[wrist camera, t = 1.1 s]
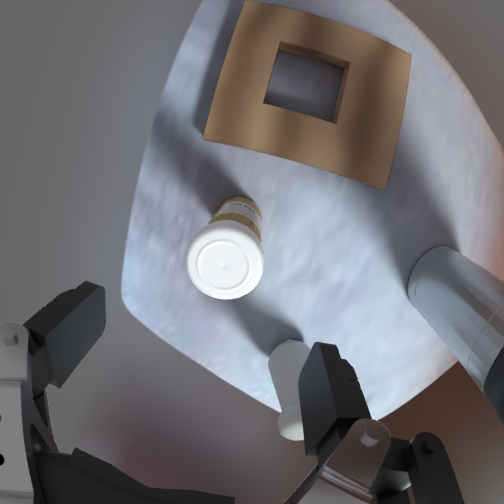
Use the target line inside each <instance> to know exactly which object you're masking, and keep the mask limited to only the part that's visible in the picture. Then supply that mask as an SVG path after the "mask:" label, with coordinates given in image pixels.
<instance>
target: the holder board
mask: <svg viewBox="0 0 504 504" xmlns="http://www.w3.org/2000/svg"><path fill="white" fill-rule="evenodd" d="M278 50H280V51H284V52H288V53H292V54H296V55H300V56H303V57H307V58H310V59H314V60H317V61H320V62H323V63H326V64H329V65H332V66H335V67H338V68H341V69H344V70H343V74H342V79H341V83H340V88H339V92H338V96H337V101H336V105H335V109H334V113H333V117H332V122H328V121H325V120H322V119H319V118H316V117H312V116H309V115H306V114H302V113H299V112H295V111H292V110H288V109H284V108H280V107H276V106H272V105H268V104H264V101H265V97H266V93H267V90H268V86H269V82H270V79H271V75H272V71H273V68H274V64H275V61H276V57H277V54H278ZM411 59H412V55H411V54H410V53H408V52H406V51H404V50H402V49H400V48H398V47H396V46H394V45H392V44H390V43H388V42H386V41H384V40H381V39H379V38H377V37H375V36H372V35H370V34H368V33H365V32H363V31H360V30H358V29H355V28H352V27H350V26H347V25H344V24H342V23H339V22H336V21H333V20H330V19H327V18H323V17H320V16H317V15H313V14H310V13H306V12H302V11H298V10H294V9H290V8H285V7H281V6H276V5H271V4H265V3H259V2H253V1H246V0H245V2H244V5H243V8H242V10H241V13H240V16H239V19H238V21H237V24H236V27H235V30H234V33H233V36H232V39H231V42H230V45H229V48H228V51H227V54H226V57H225V60H224V63H223V67H222V70H221V73H220V76H219V80H218V83H217V87H216V90H215V94H214V97H213V101H212V105H211V108H210V112H209V116H208V120H207V124H206V127H205V131H204V135H203V139H204V140H207V141H211V142H216V143H221V144H226V145H231V146H236V147H240V148H244V149H249V150H253V151H257V152H261V153H265V154H269V155H273V156H277V157H281V158H285V159H288V160H292V161H296V162H299V163H303V164H306V165H309V166H313V167H316V168H319V169H323V170H326V171H329V172H332V173H335V174H338V175H341V176H344V177H347V178H350V179H353V180H356V181H359V182H362V183H365V184H367V185H370V186H373V187H376V188H379V189H383V190H385V188H386V185H387V181H388V177H389V174H390V170H391V166H392V162H393V158H394V154H395V150H396V146H397V141H398V137H399V132H400V127H401V122H402V117H403V112H404V107H405V101H406V95H407V89H408V82H409V75H410V67H411Z"/></svg>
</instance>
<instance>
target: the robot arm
mask: <svg viewBox="0 0 504 504" xmlns="http://www.w3.org/2000/svg"><path fill="white" fill-rule="evenodd" d="M408 297H409V300H410V302H411V304H412V305H413V306H414V307H415V309H416V310H417V311H418V312H419V313H420V314H421V315H422V316H423V318H424V319H425V320H426V321H427V322H428V324H429V325H430V326H431V327H432V328H433V329H434V331H435V332H436V333H437V334H438V335H439V337H440V338H441V339H442V340H443V341H444V343H445V344H446V345H447V346H448V347H449V349H450V350H451V351H452V352H453V354H454V355H455V356H456V357H457V359H458V360H459V361H460V363H461V364H462V365H463V366H464V368H465V369H466V370H467V372H468V373H469V374H470V375H471V377H472V378H473V379H474V381H475V382H476V384H477V385H478V386H479V388H480V389H481V390H482V392H483V393H484V394H485V396H486V397H487V399H488V400H489V402H490V403H491V405H492V406H493V408H494V410H495V412H496V414H497V416H498V417H499V419H500V421H501V422H502V424H503V426H504V282H503V281H502V280H500V279H499V278H498V277H496V276H495V275H493V274H492V273H490V272H489V271H487V270H485V269H484V268H482V267H481V266H479V265H478V264H476V263H474V262H473V261H471V260H470V259H468V258H467V257H465V256H463V255H462V254H460V253H458V252H457V251H455V250H453V249H451V248H449V247H446V246H439V247H435V248H433V249H431V250H429V251H428V252H427V253H425V254H424V255H423V256H422V257H421V258H420V259H419V260H418V262H417V263H416V265H415V266H414V268H413V270H412V272H411V275H410V278H409V282H408ZM105 324H106V311H105V289H104V287H102V286H99V285H97V284H94V283H91V282H88V281H85V282H84V283H82V284H81V285H79V286H78V287H77V288H76V289H71V290H68V291H65V292H63V293H61V294H59V295H58V296H57V297H56V298H54V299H53V301H51V302H50V303H48V304H47V305H46V307H43V308H42V309H41V310H40V311H38V312H37V313H36V314H35V315H34V316H32V317H31V318H30V319H29V320H28V321H27V322H25V323H24V324H23V325H21V324H17V323H6V324H3V325H1V326H0V504H234V502H235V497H228V496H222V495H216V494H210V493H205V492H200V491H195V490H177V489H160V488H151V487H147V486H145V485H143V484H141V483H139V482H138V481H136V480H135V479H133V478H131V477H129V476H128V475H126V474H125V473H123V472H122V471H120V470H119V469H117V468H116V467H114V466H113V465H111V464H110V463H107V462H105V461H102V460H100V459H98V458H96V457H94V456H92V455H90V454H88V453H86V452H84V451H81V450H79V449H78V448H75V449H74V451H73V453H72V455H70V454H65V453H59V450H58V447H57V444H56V442H55V440H54V436H53V433H52V428H51V421H50V414H49V406H48V398H47V391H46V387H47V385H48V384H49V383H51V384H52V385H54V386H56V387H58V388H61V386H62V385H63V384H64V382H65V381H66V380H67V378H68V377H69V376H70V374H71V373H72V372H73V370H74V369H75V368H76V366H77V365H78V364H79V363H80V361H81V360H82V359H83V358H84V356H85V355H86V354H87V353H88V351H89V350H90V349H91V347H92V346H93V345H94V344H95V342H96V341H97V340H98V339H99V338H100V336H101V335H102V333H103V331H104V329H105ZM357 380H358V378H357V376H356V373H355V370H354V368H353V367H352V366H351V365H350V364H349V363H348V361H347V360H346V359H341V357H340V354H339V351H338V348H337V346H336V345H334V344H327V343H321V342H315V343H314V345H313V347H312V349H311V351H310V353H309V355H308V357H307V360H306V362H305V364H304V366H303V368H302V370H301V372H300V375H299V380H298V391H299V399H300V407H301V416H302V425H303V434H304V443H305V453H306V457H317V458H318V464H317V465H316V466H315V467H314V469H313V470H312V471H311V472H310V473H309V475H308V476H307V477H306V478H305V480H304V481H303V482H302V483H301V484H300V485H299V486H298V488H297V489H296V490H295V491H294V492H293V493H292V494H291V495H290V497H289V498H288V499H287V500H286V501H285V502H284V503H283V504H410V500H409V495H408V491H407V487H409V486H410V485H411V487H412V491H413V496H414V500H415V504H464V501H463V498H462V494H461V491H460V488H459V485H458V482H457V479H456V476H455V473H454V471H453V468H452V466H451V463H450V460H449V457H448V455H447V452H446V450H445V447H444V445H443V443H442V442H441V440H440V439H439V438H438V437H437V436H435V435H434V434H432V433H428V432H422V433H419V434H417V435H416V436H415V437H414V438H413V439H412V440H411V441H407V440H403V439H398V438H393V437H391V435H390V433H389V431H388V429H387V428H386V427H385V426H384V425H383V424H382V423H380V422H378V421H376V420H373V419H372V418H371V415H370V412H369V409H368V406H367V403H366V401H365V398H364V395H363V392H362V390H360V389H361V387H360V384H359V381H357Z"/></svg>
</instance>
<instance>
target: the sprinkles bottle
mask: <svg viewBox="0 0 504 504" xmlns="http://www.w3.org/2000/svg"><path fill="white" fill-rule="evenodd" d="M263 263H264V256H263V248H262V245H261V213H260V210H259V208H258V206H257V205H256V204H255V203H254V202H253V201H251V200H249V199H248V198H245V197H234V198H230V199H229V200H227V201H225V202H224V203H223V204H222V206H221V207H220V208H219V211H217V212H216V213H215V215H214V216H213V217H212V218H211V220H210V222H209V224H208V225H207V226H205V227H204V228H202V229H201V230H200V231H199V232H198V234H197V235H196V236H195V237H194V239H193V241H192V242H191V244H190V246H189V248H188V251H187V255H186V267H187V271H188V274H189V277H190V279H191V280H192V282H193V283H194V285H195V286H196V287H197V288H198V289H199V290H201V291H202V292H203V293H205V294H207V295H209V296H211V297H214V298H218V299H235V298H238V297H241V296H243V295H245V294H247V293H249V292H250V291H251V290H252V289H253V288H254V287H255V286H256V285H257V283H258V282H259V280H260V278H261V275H262V272H263Z"/></svg>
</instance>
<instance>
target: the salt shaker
mask: <svg viewBox="0 0 504 504" xmlns="http://www.w3.org/2000/svg"><path fill="white" fill-rule="evenodd" d="M310 351H311V349H310V348H309V347H308V346H307V345H306V344H305V343H304V342H303V341H298V340H293V339H287V340H286V341H284V342H282V343H280V344H279V345H277V346H276V347H275V349H274V350H273V351H272V353H271V356H270V358H269V361H268V366H269V371H270V374H271V377H272V380H273V384H274V387H275V390H276V393H277V396H278V399H279V403H280V406H281V409H282V412H281V414H280V416H279V418H278V428H279V431H280V434H281V435H282V436H284V437H285V438H288V439H291V440H304V434H303V425H302V416H301V407H300V399H299V391H298V380H299V375H300V372H301V370H302V368H303V366H304V364H305V362H306V360H307V357H308V355H309V353H310Z"/></svg>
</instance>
